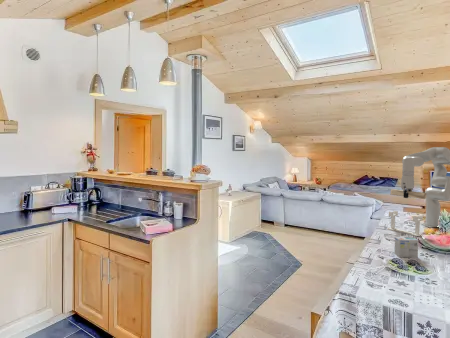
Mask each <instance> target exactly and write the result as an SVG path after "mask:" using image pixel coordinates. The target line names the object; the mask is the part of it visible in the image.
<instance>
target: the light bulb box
mask: <svg viewBox="0 0 450 338" xmlns="http://www.w3.org/2000/svg"><path fill="white" fill-rule="evenodd" d="M394 254H395V255H396V256H397V257H399V258H414V259H415V258H418V256H419V239H417V238H415V236H394Z"/></svg>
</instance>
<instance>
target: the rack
mask: <svg viewBox="0 0 450 338" xmlns="http://www.w3.org/2000/svg"><path fill="white" fill-rule="evenodd" d="M398 216H399V211H397V210H393V211H388V217H390V227H387V230H389V231H393V232H399V233H402V234H408V235H411V236H412V237H417V236H419V235H421V234H422V233H420V229H421V228H420V226H421V221H423V218H424V216H423V215H421V214H417V216H415V215H413V216H412V222H414V224H415V227H414V232H412V231H408V230H404V229H399V228H398V227H396V217H398Z"/></svg>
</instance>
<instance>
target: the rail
mask: <svg viewBox="0 0 450 338" xmlns="http://www.w3.org/2000/svg"><path fill="white" fill-rule="evenodd" d="M390 195H391V196H398V197H404V193H403V190H402V189H396V188H394V189H393V188H392V189H390ZM408 198H413V199H420V200H421V199H422V200H426V193H425V192H423V191H420V192H419V191H414V190H412V191H408Z"/></svg>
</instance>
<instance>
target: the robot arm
mask: <svg viewBox="0 0 450 338" xmlns="http://www.w3.org/2000/svg"><path fill="white" fill-rule="evenodd" d="M430 161H431V163H432V164H433V168H434V172H433V174H432V177H431V181H430V184H431V186H432V187H428V188H426V189H425V192H424V193H426V199H425V202H426V203H425V204H426V205H425V222H424V223H422V224H423V226H424V227H427V228H432V227H437V226H438V219H439V216H440V217H441V203H440V201H443V202H449V201H450V175H447V173H448V170H447V167H446V166H445V165H447V166H448V165H450V149H449V148H448V147H445V146H441V147H440V146H439V147H437V146H433V147H430V148H427V149H426V150H423V151H419V152H414V153H411V154H408V155H405V156H404V157H403V158H402V161H401V163H402V168H401V169H402V175H401V181H400V189H401V190H403V193H404V196H403V198H405V199H409V197H408V191H414V190H413V189H414V187H415V167H417V168H418V167H422V166H423V165H424V164H425V163H427V162H430Z"/></svg>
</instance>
